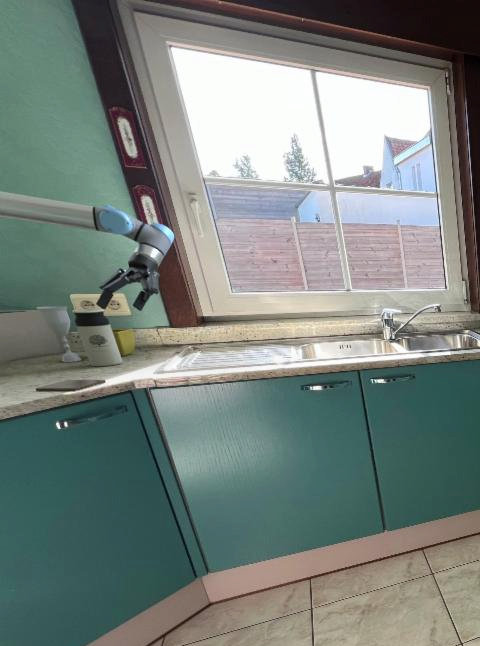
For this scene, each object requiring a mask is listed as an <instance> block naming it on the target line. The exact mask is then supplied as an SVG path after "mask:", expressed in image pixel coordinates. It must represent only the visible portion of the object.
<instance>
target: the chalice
mask: <svg viewBox="0 0 480 646" xmlns="http://www.w3.org/2000/svg"><path fill="white" fill-rule="evenodd" d="M36 309H37V310H38V311H39V313H40V315H41V318H42V320H43V323H44V324H45V325H46V326H47V328H48V329H49V330H51V332H52V333H54V334H55V335H56V336H60V338H61V343H62V344H63V346H62V347H63V348H64V349H65V353H63V354H62V357H61V359H62V360H61V362H62V361H63V362H62V363H73V361H74V362H79V361H83V359H82V358H80V356H79V355H78V354H77V353H76V352H72V350H71V349H70V347H71V346H70V345H69V343H68V342H69V340H68V339H67V337H66V335H68V334H69V331H70V329H71V319H70V316H69V314H68V311H67V310H68V306H65V305H64V306H63V305H61V306H59V305H54V306H53V305H52V306H51V305H49V306H38V307H36Z"/></svg>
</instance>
